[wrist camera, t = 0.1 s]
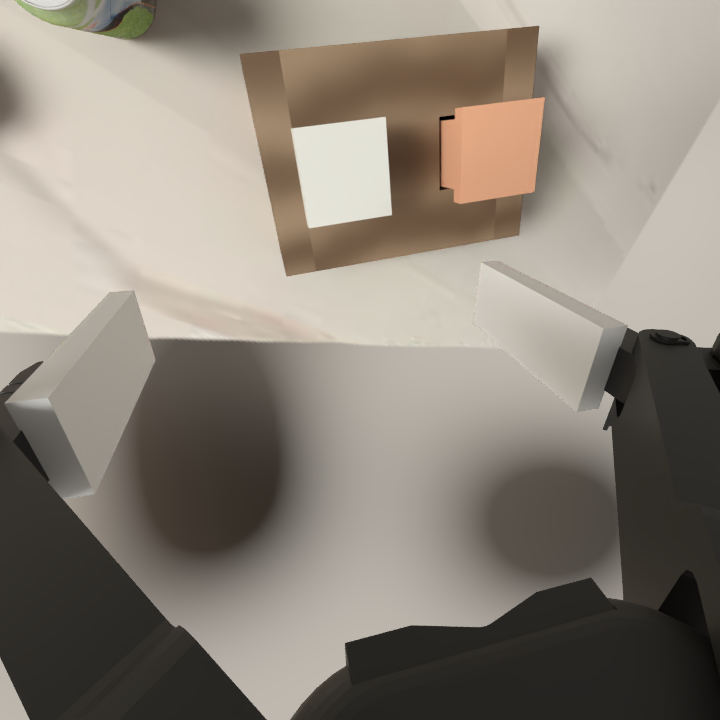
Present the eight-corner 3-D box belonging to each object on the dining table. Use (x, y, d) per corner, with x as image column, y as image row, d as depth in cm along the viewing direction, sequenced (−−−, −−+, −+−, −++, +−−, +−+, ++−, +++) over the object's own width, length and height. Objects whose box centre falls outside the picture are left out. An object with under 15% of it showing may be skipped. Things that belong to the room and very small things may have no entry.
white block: (284, 130, 32) (292, 128, 26) (359, 121, 33) (385, 116, 27) (298, 211, 36) (309, 228, 29) (366, 201, 37) (391, 215, 30)
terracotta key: (421, 113, 34) (462, 107, 27) (488, 105, 35) (544, 97, 28) (423, 192, 37) (460, 204, 31) (484, 182, 38) (534, 192, 32)
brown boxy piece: (242, 69, 33) (239, 54, 27) (492, 44, 36) (539, 25, 30) (282, 256, 41) (286, 276, 35) (483, 222, 45) (518, 235, 39)
